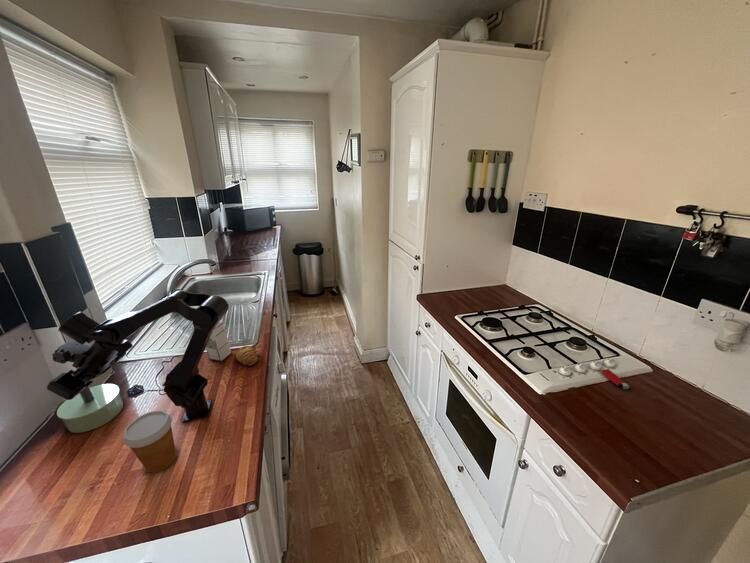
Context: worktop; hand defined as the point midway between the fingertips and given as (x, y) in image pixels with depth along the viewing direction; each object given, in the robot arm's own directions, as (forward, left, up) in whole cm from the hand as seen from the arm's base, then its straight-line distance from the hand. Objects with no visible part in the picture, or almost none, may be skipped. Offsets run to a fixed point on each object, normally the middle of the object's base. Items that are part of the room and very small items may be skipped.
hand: (77, 385), depth 86 cm
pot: (0, -1, -11) cm, 11 cm away
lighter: (-36, -157, -11) cm, 161 cm away
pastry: (+14, -42, -11) cm, 46 cm away
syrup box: (+20, -32, -11) cm, 39 cm away
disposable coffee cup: (-23, -25, -11) cm, 36 cm away
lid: (0, -1, -6) cm, 6 cm away
